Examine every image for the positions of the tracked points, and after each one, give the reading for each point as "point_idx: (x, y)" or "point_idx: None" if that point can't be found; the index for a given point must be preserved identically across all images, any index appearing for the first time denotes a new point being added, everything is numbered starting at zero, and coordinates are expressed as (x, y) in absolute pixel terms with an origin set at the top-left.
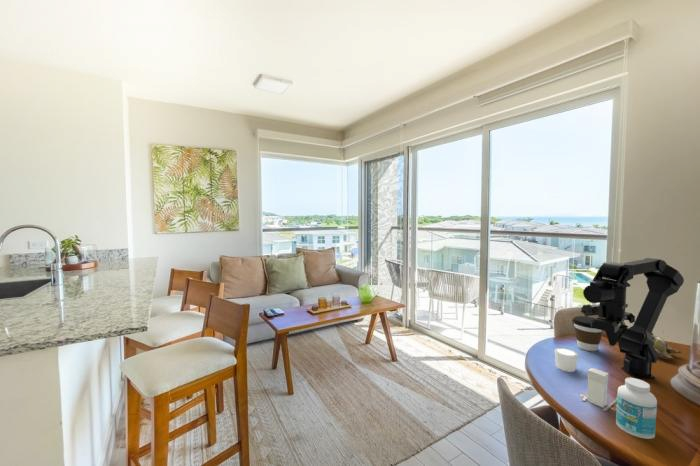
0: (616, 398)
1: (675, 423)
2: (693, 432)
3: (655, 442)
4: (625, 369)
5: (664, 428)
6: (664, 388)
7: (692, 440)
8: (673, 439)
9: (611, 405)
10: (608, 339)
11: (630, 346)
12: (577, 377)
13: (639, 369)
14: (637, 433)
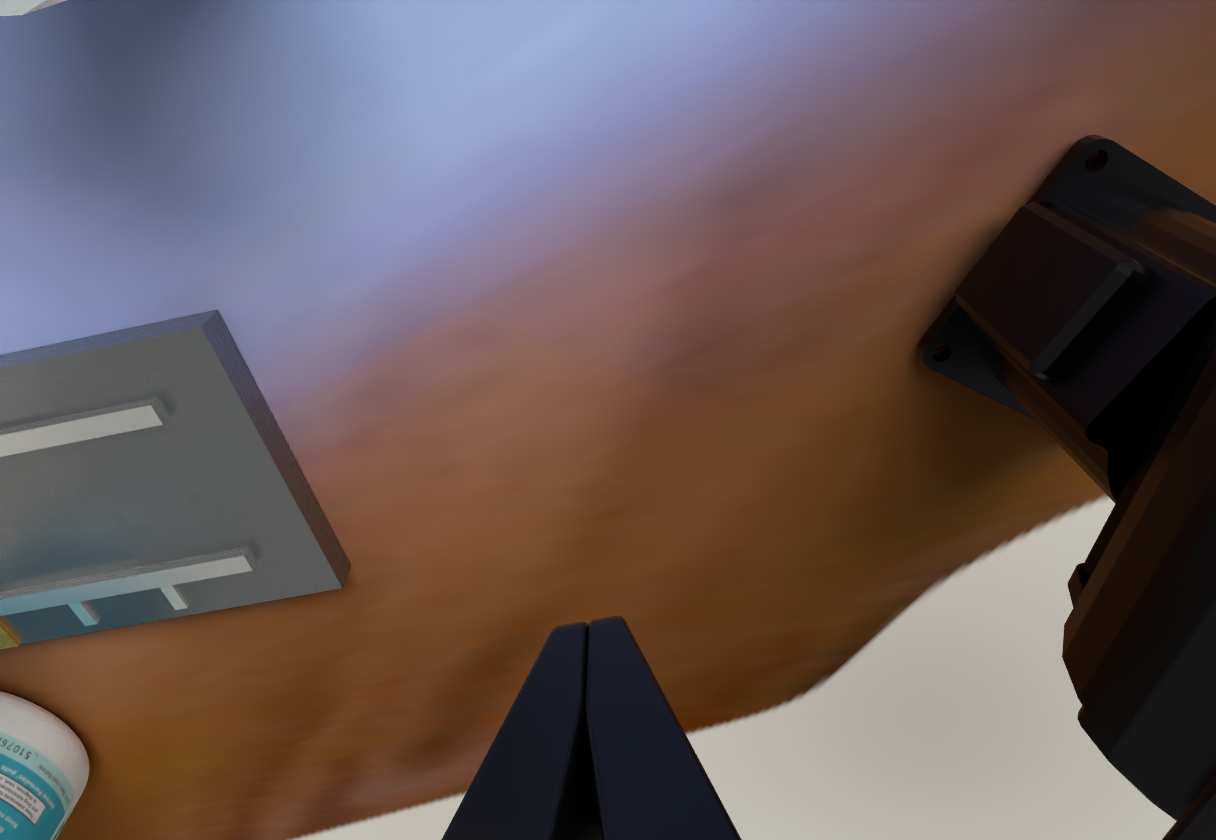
0: (156, 574)
1: (383, 758)
2: (392, 810)
3: None
4: (999, 247)
5: (248, 763)
6: (904, 545)
7: (300, 832)
8: (193, 810)
9: (4, 613)
10: (479, 776)
11: (1156, 605)
12: (171, 54)
13: (1030, 405)
14: None
